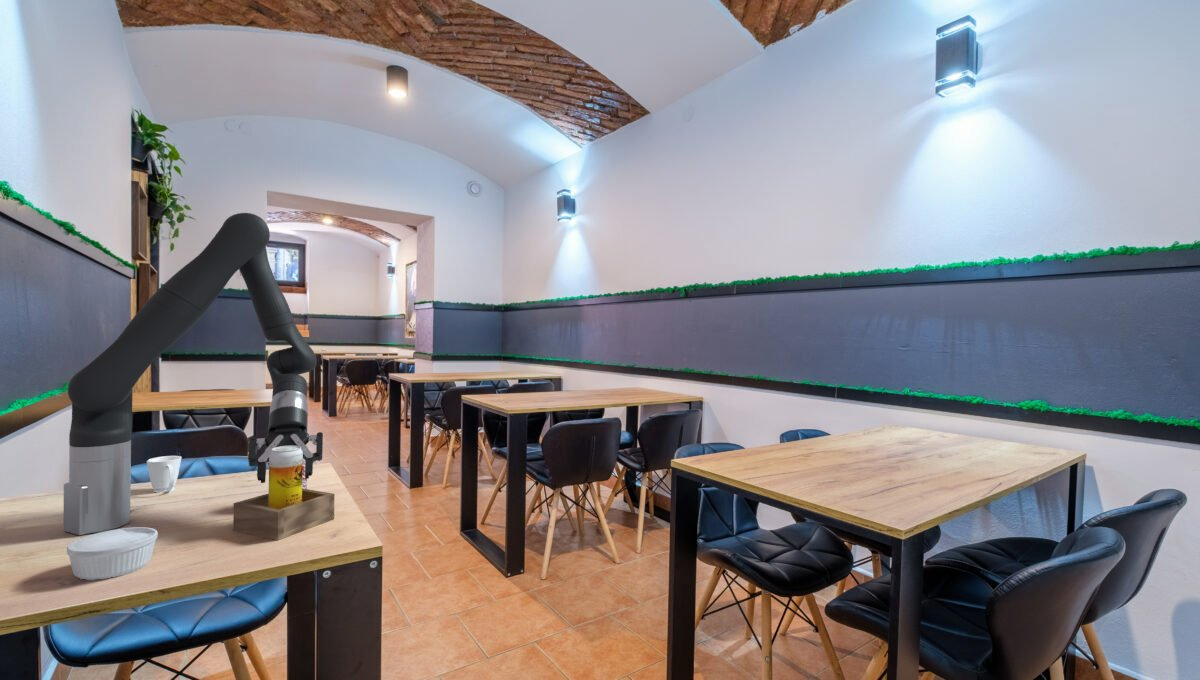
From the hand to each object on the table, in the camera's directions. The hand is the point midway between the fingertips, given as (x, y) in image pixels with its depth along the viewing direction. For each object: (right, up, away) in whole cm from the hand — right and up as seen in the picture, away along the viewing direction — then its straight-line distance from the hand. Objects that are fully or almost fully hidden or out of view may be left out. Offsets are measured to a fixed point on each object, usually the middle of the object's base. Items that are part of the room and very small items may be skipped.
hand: (285, 478), depth 109 cm
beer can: (-1, -9, +2) cm, 9 cm away
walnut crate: (-1, -10, +1) cm, 10 cm away
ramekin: (-17, -10, -20) cm, 28 cm away
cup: (-44, -9, +23) cm, 50 cm away
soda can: (-8, -10, +15) cm, 19 cm away
